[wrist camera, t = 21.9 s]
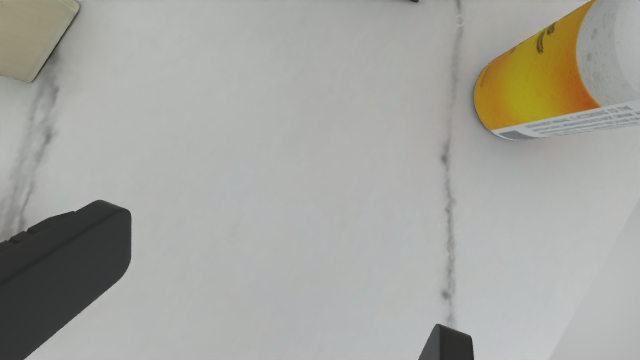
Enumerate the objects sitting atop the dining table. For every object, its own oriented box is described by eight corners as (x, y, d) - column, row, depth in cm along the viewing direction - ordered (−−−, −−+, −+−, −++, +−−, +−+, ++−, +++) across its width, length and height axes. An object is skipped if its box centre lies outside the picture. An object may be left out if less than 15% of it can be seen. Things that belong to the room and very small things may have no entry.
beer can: (559, 59, 28) (832, -62, 13) (549, 145, 28) (807, 121, 13) (474, 51, 28) (652, -80, 13) (464, 136, 28) (629, 103, 13)
